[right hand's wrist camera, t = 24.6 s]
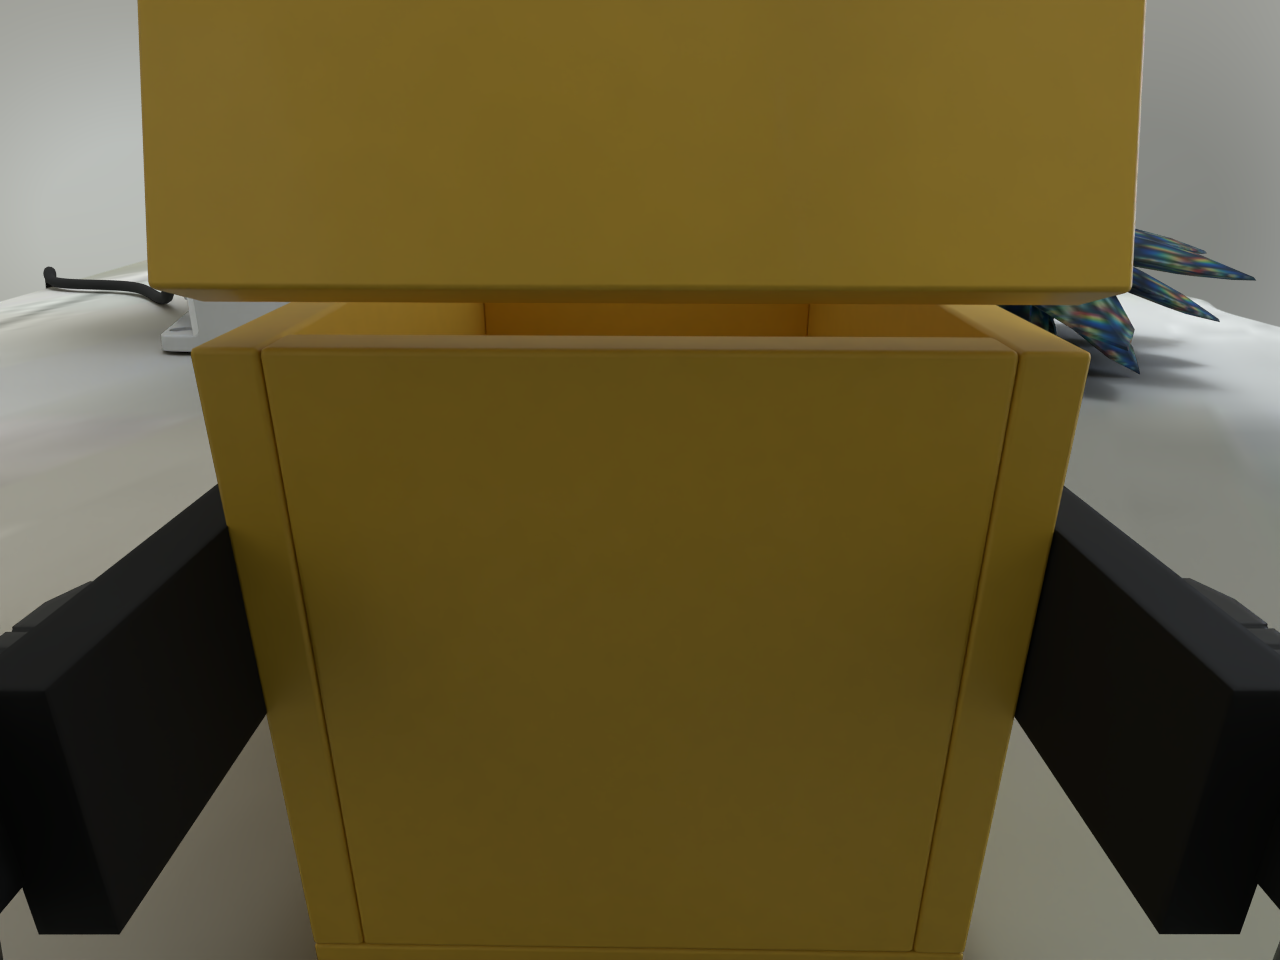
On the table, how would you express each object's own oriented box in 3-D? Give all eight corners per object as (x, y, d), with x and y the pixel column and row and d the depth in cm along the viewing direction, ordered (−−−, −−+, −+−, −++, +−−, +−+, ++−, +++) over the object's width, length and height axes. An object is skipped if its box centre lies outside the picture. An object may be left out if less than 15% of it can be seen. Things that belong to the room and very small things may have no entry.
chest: (481, 569, 25) (453, 224, 21) (809, 571, 25) (841, 224, 21) (320, 980, 13) (185, 348, 9) (957, 989, 13) (1095, 352, 9)
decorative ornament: (651, 370, 48) (1273, 433, 37) (652, 226, 45) (1326, 249, 34) (782, 294, 74) (1169, 318, 64) (788, 200, 72) (1194, 208, 61)
